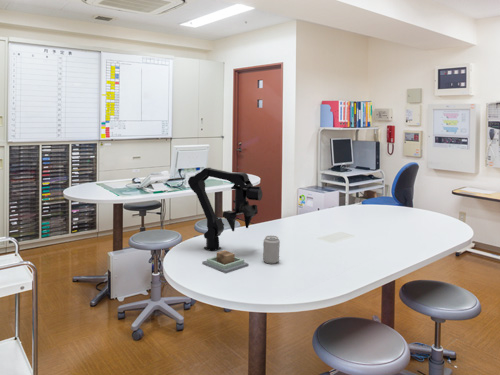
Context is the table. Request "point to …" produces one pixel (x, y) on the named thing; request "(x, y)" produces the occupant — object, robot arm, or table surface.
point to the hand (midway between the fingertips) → (240, 229)
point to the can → (271, 249)
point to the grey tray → (225, 268)
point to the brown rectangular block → (225, 257)
